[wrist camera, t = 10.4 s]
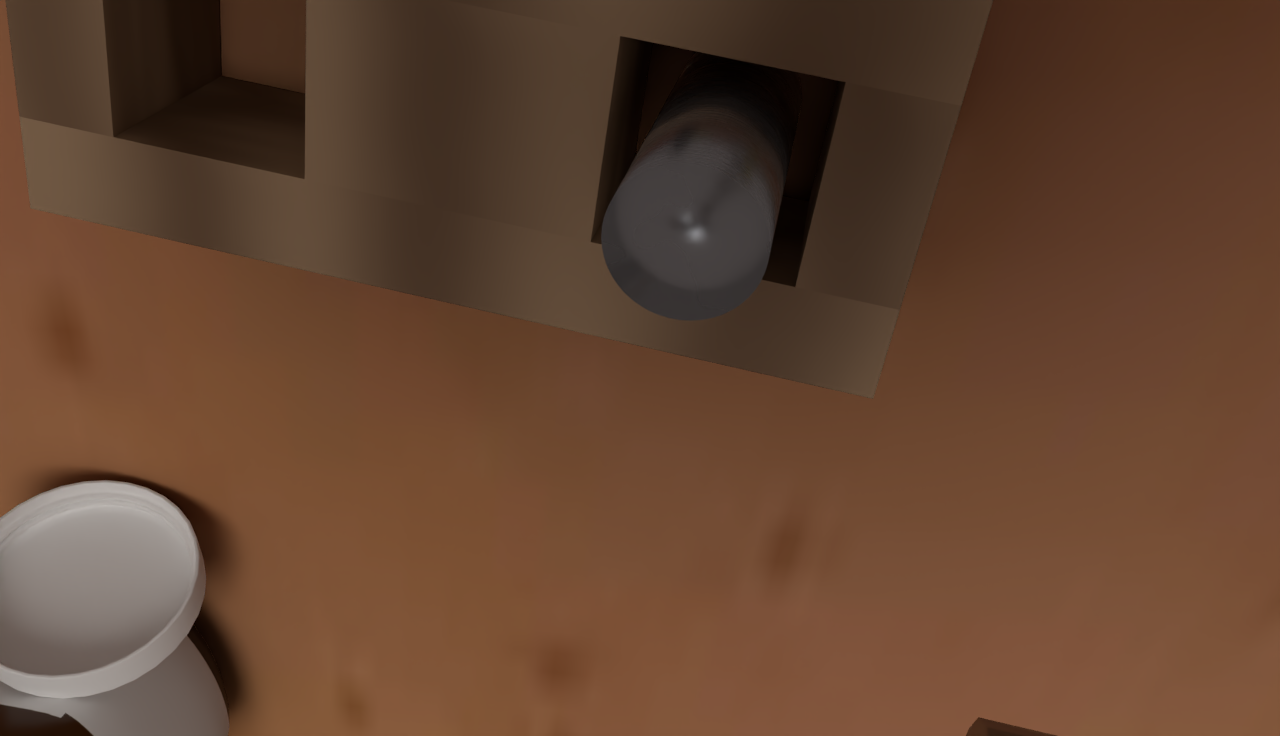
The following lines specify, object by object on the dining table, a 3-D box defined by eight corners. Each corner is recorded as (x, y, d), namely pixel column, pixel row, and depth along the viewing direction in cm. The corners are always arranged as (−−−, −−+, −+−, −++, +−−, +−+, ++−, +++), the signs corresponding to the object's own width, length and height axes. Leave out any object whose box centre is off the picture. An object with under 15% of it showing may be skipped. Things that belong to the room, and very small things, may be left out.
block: (978, -61, 26) (997, -13, 22) (875, 300, 31) (872, 398, 26) (121, -227, 28) (-20, -213, 23) (144, 140, 32) (30, 208, 28)
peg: (815, 48, 28) (786, 183, 20) (787, 168, 29) (750, 336, 22) (690, 23, 28) (614, 146, 20) (668, 143, 30) (590, 300, 22)
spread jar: (56, 730, 45) (-179, 1022, 35) (-97, 487, 40) (-420, 746, 30) (333, 714, 42) (160, 1030, 32) (204, 448, 37) (-47, 723, 27)
